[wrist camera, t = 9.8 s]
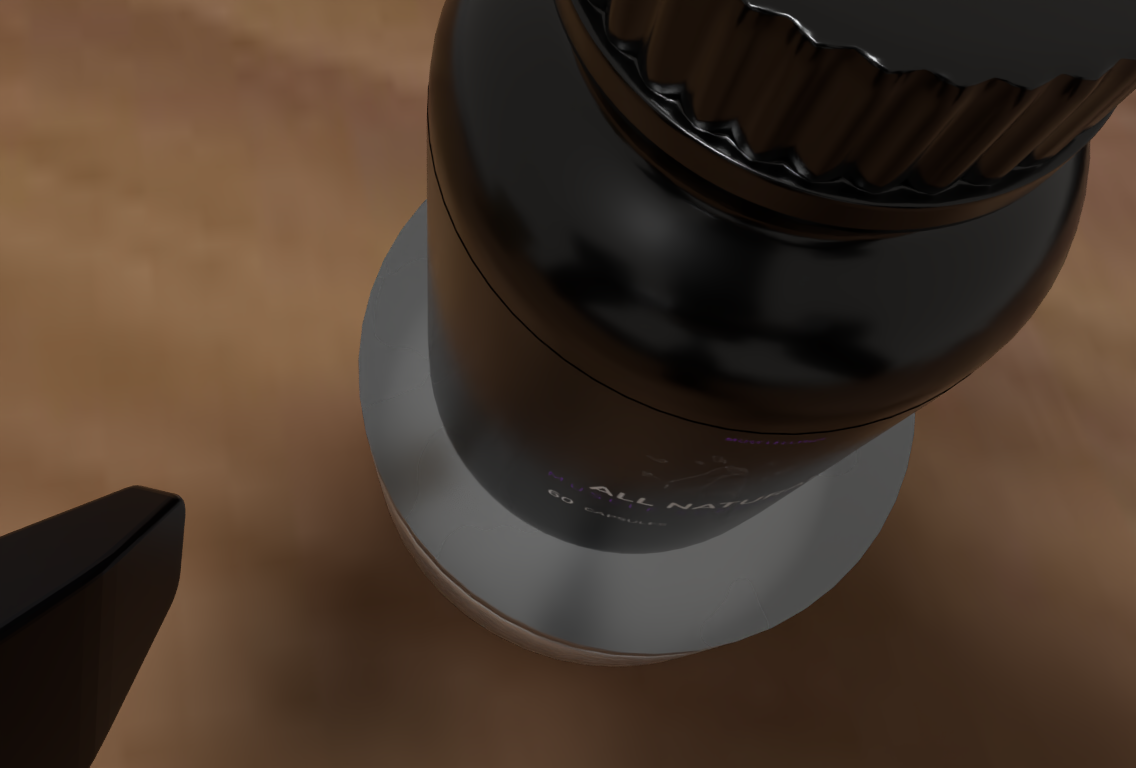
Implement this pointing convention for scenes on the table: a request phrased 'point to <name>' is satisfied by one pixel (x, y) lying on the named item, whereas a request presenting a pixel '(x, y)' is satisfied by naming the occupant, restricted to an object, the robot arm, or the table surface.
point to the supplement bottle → (737, 235)
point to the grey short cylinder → (580, 575)
